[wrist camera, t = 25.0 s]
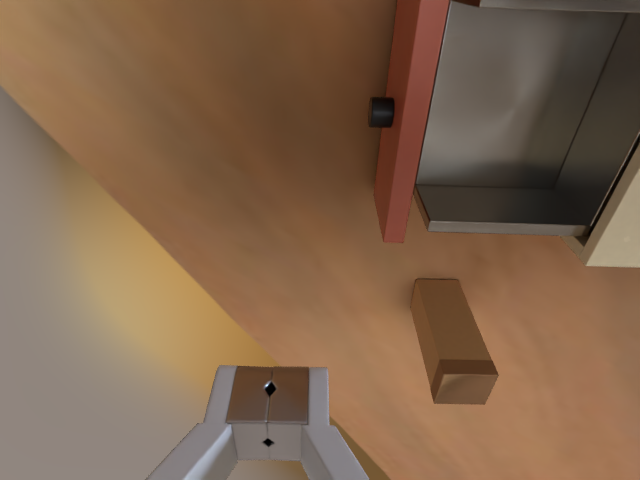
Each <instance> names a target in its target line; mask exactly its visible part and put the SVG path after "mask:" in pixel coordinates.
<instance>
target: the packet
mask: <svg viewBox="0 0 640 480" xmlns="http://www.w3.org/2000/svg"><path fill="white" fill-rule="evenodd" d="M410 308H411V312H412V316H413V320H414V324H415V328H416V332H417V336H418V340H419V344H420V348H421V352H422V356H423V360H424V364H425V368H426V372H427V376H428V380H429V384H430V388H431V393H432V397H433V401H434V404H479V405H485V404H486V401H487V399H488V397H489V395H490V393H491V391H492V389H493V386H494V384H495V382H496V380H497V378H498V376H499V375H498V372H497V370H496V368H495V365H494V363H493V361H492V359H491V357H490V355H489V352H488V350H487V348H486V345H485V343H484V341H483V338H482V336H481V333H480V331H479V329H478V326H477V324H476V322H475V319H474V317H473V315H472V312H471V310H470V307H469V305H468V303H467V300H466V298H465V296H464V293H463V291H462V289H461V286H460V284H459V282H458V280H435V279H416V283H415V288H414V292H413V297H412V302H411V306H410Z"/></svg>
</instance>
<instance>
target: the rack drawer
mask: <svg viewBox="0 0 640 480" xmlns="http://www.w3.org/2000/svg"><path fill="white" fill-rule="evenodd" d="M368 124H369V127H373V128H382V130H381V138H380V147H379V155H378V163H377V171H376V179H375V187H374V199H375V204H376V209H377V214H378V218H379V223H380V228H381V233H382V238H383V242H391V243H403V242H404V237H405V231H406V226H407V221H408V216H409V210H410V205H411V200H412V194H413V195H414V198H415V200H416V203H417V205H418V208H419V211H420V213H421V216H422V218H423V221H424V224H425V226H426V229H427V231H428V232H455V233H488V234H521V235H553V236H586V237H590V236H591V234H592V232H593V230H594V228H595V226H596V224H597V222H598V220H599V219H600V217H601V215H602V213H603V211H604V209H605V207H606V205H607V203H608V202H609V200H610V198H611V196H612V194H613V192H614V190H615V188H616V187H617V185H618V183H619V181H620V179H621V177H622V175H623V173H624V171H625V170H626V168H627V166H628V164H629V162H630V160H631V158H632V156H633V154H634V153H635V151H636V149H637V147H638V145H639V143H640V0H397V8H396V16H395V24H394V33H393V41H392V49H391V57H390V65H389V73H388V81H387V90H386V97H371V99H370V103H369V112H368Z"/></svg>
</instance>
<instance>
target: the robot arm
mask: <svg viewBox="0 0 640 480" xmlns="http://www.w3.org/2000/svg"><path fill="white" fill-rule="evenodd" d="M237 460H286V461H301V464H302V466H303V468H304V470H305V472H306V474H307V476H308V478H309V480H370V479H369V478H368V476H367V475H366V473H365V471H364V470H363V468H362V467H361V465H360V464H359V462H358V461H357V459H356V458H355V456H354V455H353V453H352V451H351V450H350V449H349V447H348V446H347V444H346V442H345V441H344V439H343V438H342V436H341V435H340V433H339V431H338V430H337V428H336V427H335V426H331V425H329V390H328V369H327V367H255V366H228V365H220V366H219V367H218V369H217V371H216V375H215V379H214V382H213V386H212V390H211V394H210V398H209V402H208V406H207V410H206V414H205V418H204V422H203V423H197V424H196V426H195V427H194V428H193V429H192V430H191V431H190V432H189V433H188V434H187V435H186V436H185V437H184V438H183V439H182V441H181V442H180V443H179V444H178V445H177V446H176V447H175V448H174V449H173V450H172V451H171V452H170V454H169V455H168V456H167V457H166V458H165V459H164V460H163V461H162V462H161V463H160V464H159V465H158V466H157V467H156V468H155V470H154V471H153V472H152V473H151V474H150V475H149V476H148V477H147V478H146V479H145V480H226V479H227V478H228V476H229V475H230V473H231V472H232V470H233V469H234V467H235V466H236V465H237V463H238V461H237Z"/></svg>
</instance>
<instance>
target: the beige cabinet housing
mask: <svg viewBox="0 0 640 480" xmlns="http://www.w3.org/2000/svg"><path fill="white" fill-rule="evenodd" d="M560 237H561V238H562V239H563V241H564V242H565V243H566V244H567V245H568V246H569V247H570V249H571V250H572V251H573V252H574V253H575V254H576V255H577V257H579V259H580V260H581V261H582V262H583V263H584V264H585V265H586V266H606V267H639V268H640V143H639V145H638V147H637V149H636V151H635V153H634V154H633V156H632V158H631V160H630V162H629V164H628V166H627V168H626V170H625V171H624V173H623V175H622V177H621V179H620V181H619V183H618V185H617V187H616V188H615V190H614V192H613V194H612V196H611V198H610V200H609V202H608V203H607V205H606V207H605V209H604V211H603V213H602V215H601V217H600V219H599V220H598V222H597V224H596V226H595V228H594V230H593V232H592V234H591V236H590V237H586V236H560Z"/></svg>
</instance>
